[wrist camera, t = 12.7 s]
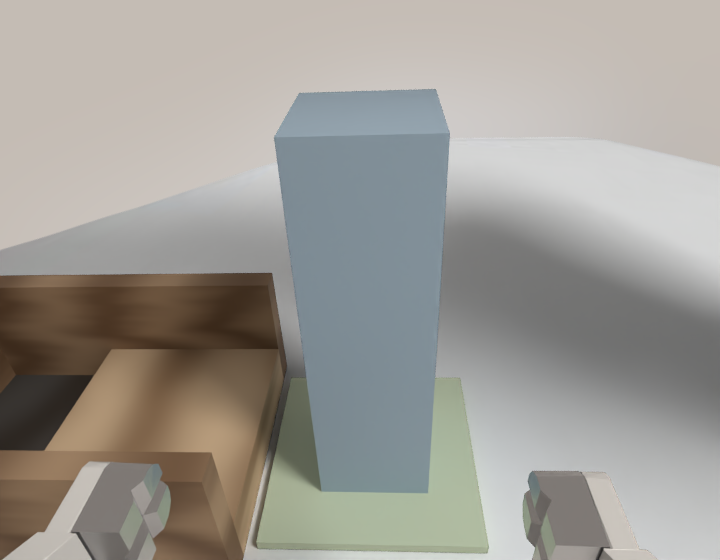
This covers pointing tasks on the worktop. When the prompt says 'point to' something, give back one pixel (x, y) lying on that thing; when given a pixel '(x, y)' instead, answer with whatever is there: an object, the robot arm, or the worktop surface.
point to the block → (367, 276)
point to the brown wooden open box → (140, 397)
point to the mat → (369, 509)
